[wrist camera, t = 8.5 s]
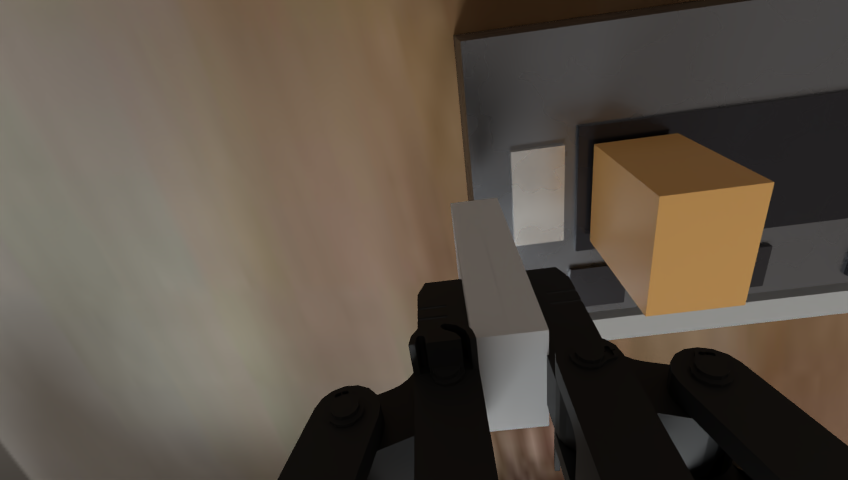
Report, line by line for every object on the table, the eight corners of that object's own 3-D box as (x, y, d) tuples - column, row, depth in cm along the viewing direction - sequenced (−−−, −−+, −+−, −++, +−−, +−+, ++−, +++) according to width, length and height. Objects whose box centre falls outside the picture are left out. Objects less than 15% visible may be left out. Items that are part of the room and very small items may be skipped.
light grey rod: (444, 340, 25) (445, 358, 24) (441, 320, 25) (442, 337, 23) (896, 288, 24) (922, 304, 23) (906, 265, 24) (933, 280, 22)
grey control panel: (476, 288, 24) (485, 327, 21) (453, 35, 18) (461, 41, 15) (919, 234, 23) (990, 268, 20) (1036, -48, 17) (1159, -57, 14)
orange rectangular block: (589, 240, 19) (645, 316, 14) (594, 144, 17) (659, 196, 12) (665, 231, 18) (745, 305, 14) (677, 133, 17) (774, 182, 12)
